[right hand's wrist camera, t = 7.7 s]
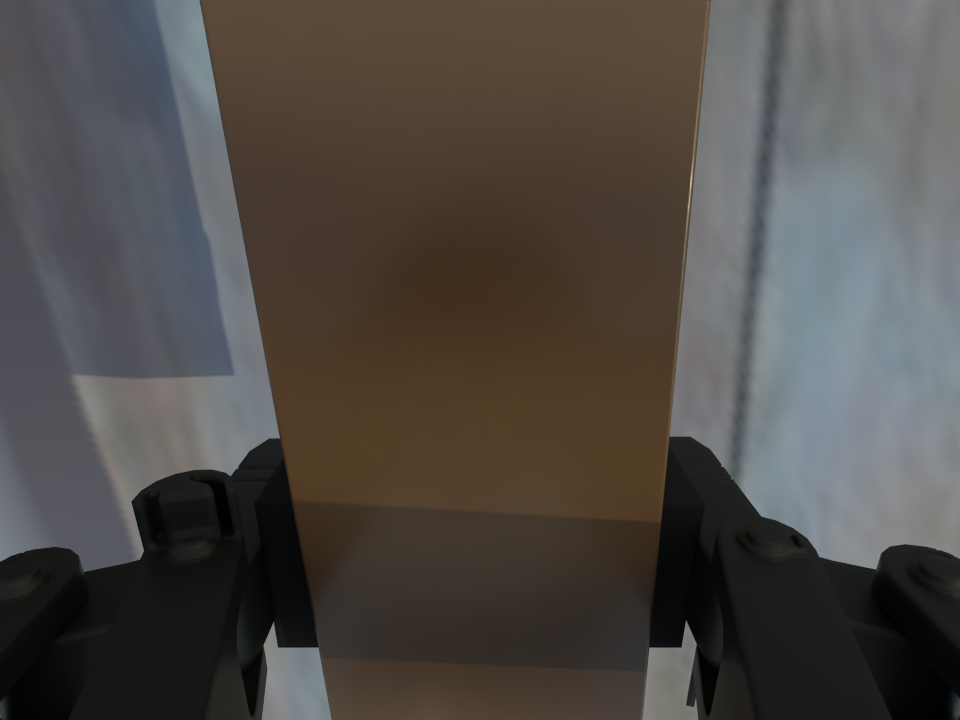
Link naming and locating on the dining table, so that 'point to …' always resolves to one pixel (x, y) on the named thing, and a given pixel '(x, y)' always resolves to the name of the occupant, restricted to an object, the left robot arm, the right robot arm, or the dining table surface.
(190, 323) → the dining table surface
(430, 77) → the beam
